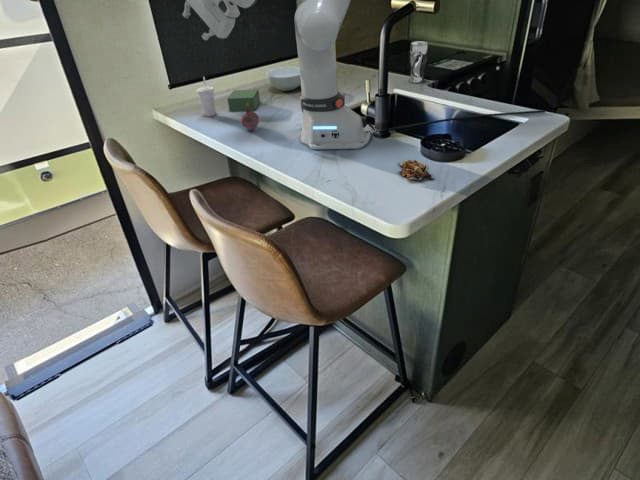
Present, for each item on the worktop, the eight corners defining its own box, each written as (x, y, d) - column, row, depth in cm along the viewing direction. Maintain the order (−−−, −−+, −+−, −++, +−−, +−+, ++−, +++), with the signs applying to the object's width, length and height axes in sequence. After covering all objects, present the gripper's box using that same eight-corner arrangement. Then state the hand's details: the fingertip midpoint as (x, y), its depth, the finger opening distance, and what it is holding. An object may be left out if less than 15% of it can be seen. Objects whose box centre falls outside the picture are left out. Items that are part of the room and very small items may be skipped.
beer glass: (421, 84, 179) (424, 45, 170) (405, 82, 182) (407, 44, 173) (427, 79, 183) (430, 41, 175) (411, 78, 186) (414, 40, 178)
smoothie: (214, 117, 162) (206, 79, 154) (199, 117, 163) (190, 79, 155) (221, 111, 167) (213, 74, 159) (206, 111, 168) (197, 74, 160)
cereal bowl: (302, 94, 178) (300, 76, 174) (263, 94, 181) (261, 77, 176) (310, 82, 191) (309, 65, 187) (274, 82, 194) (272, 65, 190)
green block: (260, 101, 173) (258, 89, 170) (255, 110, 165) (253, 97, 162) (235, 102, 174) (233, 90, 172) (229, 111, 166) (227, 98, 163)
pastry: (414, 160, 123) (415, 149, 121) (434, 179, 114) (436, 167, 112) (391, 165, 122) (391, 153, 120) (410, 184, 112) (411, 172, 110)
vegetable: (240, 134, 147) (235, 105, 141) (245, 127, 152) (240, 99, 146) (258, 134, 146) (253, 105, 140) (262, 127, 151) (258, 99, 145)
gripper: (188, -36, 133) (167, 2, 140) (232, 15, 133) (209, 50, 140) (201, -32, 138) (179, 4, 145) (243, 17, 139) (220, 51, 146)
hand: (194, 27), depth 143 cm, fingers open, 8 cm apart
